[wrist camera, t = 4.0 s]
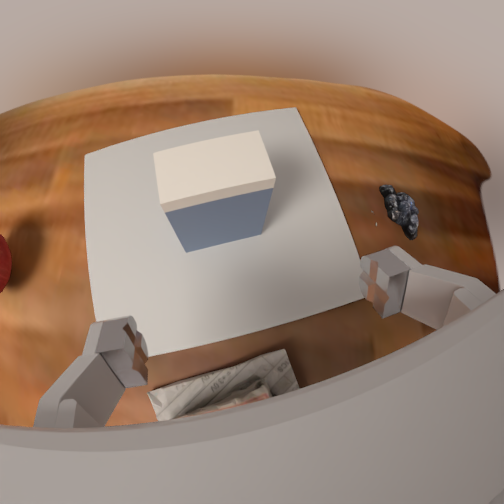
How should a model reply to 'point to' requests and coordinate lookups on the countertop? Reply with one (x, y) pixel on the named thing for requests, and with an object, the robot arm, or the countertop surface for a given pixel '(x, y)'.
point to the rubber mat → (220, 256)
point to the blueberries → (401, 210)
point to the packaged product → (226, 387)
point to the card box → (215, 189)
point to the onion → (4, 263)
